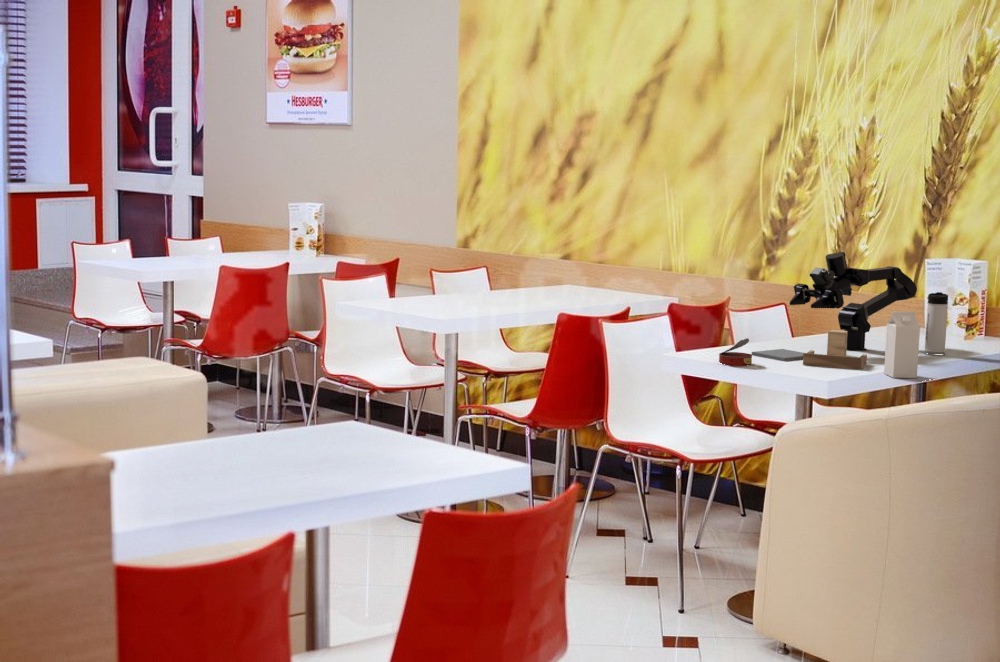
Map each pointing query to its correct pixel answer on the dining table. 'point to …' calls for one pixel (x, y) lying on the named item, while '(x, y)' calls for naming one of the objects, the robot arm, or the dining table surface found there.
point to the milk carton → (902, 345)
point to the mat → (780, 354)
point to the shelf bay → (834, 360)
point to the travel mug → (936, 323)
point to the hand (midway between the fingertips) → (800, 305)
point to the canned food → (736, 356)
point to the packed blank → (837, 343)
